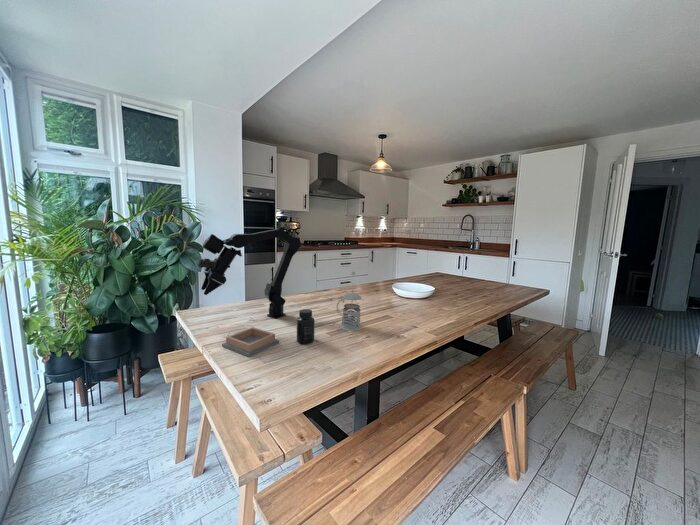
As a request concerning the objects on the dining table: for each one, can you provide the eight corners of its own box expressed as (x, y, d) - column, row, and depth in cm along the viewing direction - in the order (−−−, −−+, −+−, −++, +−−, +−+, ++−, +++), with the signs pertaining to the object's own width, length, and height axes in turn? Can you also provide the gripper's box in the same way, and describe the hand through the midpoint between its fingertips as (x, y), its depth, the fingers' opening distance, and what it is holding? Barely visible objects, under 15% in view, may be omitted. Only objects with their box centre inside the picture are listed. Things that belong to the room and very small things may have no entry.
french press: (360, 332, 120) (362, 274, 117) (333, 329, 122) (335, 272, 119) (363, 324, 130) (366, 270, 126) (339, 321, 132) (340, 268, 129)
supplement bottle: (316, 338, 112) (316, 308, 111) (312, 345, 106) (312, 314, 104) (299, 336, 113) (299, 307, 111) (294, 343, 106) (294, 313, 105)
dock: (253, 334, 114) (253, 325, 113) (278, 342, 107) (278, 333, 106) (222, 346, 102) (221, 337, 101) (248, 357, 95) (248, 347, 94)
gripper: (204, 247, 124) (182, 278, 122) (209, 252, 109) (185, 288, 106) (227, 260, 130) (207, 290, 127) (235, 266, 115) (213, 300, 112)
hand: (203, 292), depth 118 cm, fingers open, 9 cm apart
